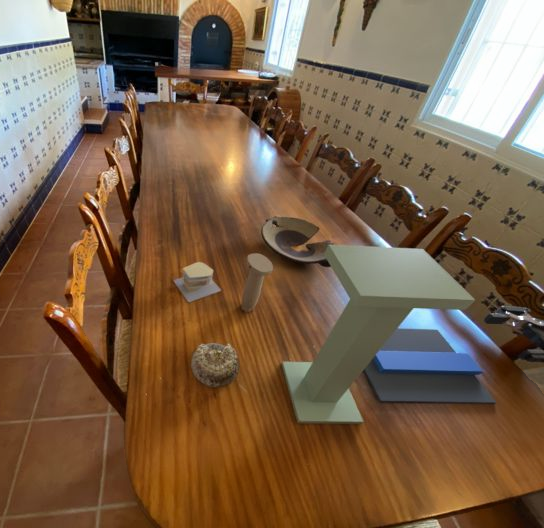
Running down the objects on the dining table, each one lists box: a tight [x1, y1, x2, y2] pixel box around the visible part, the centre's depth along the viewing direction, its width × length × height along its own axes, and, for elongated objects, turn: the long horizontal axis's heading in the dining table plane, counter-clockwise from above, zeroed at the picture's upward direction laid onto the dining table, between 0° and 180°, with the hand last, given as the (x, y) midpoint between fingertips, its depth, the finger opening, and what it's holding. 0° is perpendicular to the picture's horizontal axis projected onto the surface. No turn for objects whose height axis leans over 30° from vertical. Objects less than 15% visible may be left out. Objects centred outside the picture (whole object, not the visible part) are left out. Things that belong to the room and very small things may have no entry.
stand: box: [281, 244, 476, 425], centre depth 48 cm, size 14×12×32 cm
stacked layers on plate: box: [172, 261, 222, 303], centre depth 78 cm, size 10×9×6 cm
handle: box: [241, 252, 274, 313], centre depth 70 cm, size 5×6×15 cm
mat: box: [363, 327, 497, 405], centre depth 65 cm, size 24×18×1 cm
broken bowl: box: [260, 215, 335, 268], centre depth 91 cm, size 22×30×8 cm
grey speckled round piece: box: [190, 342, 240, 389], centre depth 60 cm, size 10×10×5 cm
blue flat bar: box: [373, 351, 484, 376], centre depth 64 cm, size 22×4×1 cm, turn 91°
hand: (504, 336), depth 59 cm, fingers open, 8 cm apart
